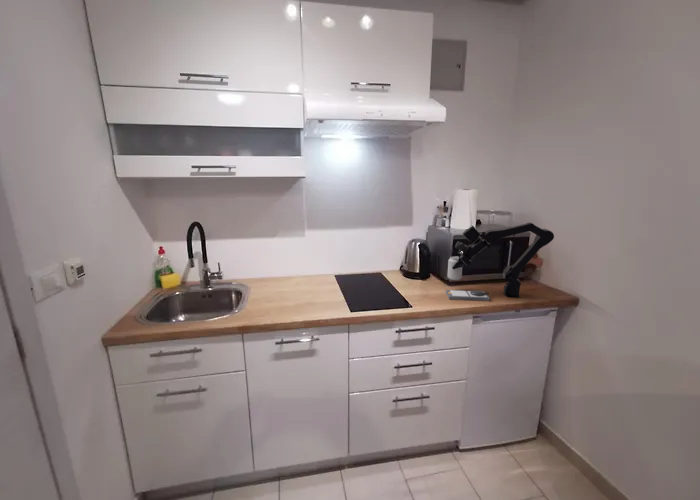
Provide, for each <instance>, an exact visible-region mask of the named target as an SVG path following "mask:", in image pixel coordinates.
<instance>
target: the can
mask: <svg viewBox="0 0 700 500" xmlns="http://www.w3.org/2000/svg"><path fill="white" fill-rule="evenodd" d="M458 260H459V257H458V255H457V256H456V255H455V256H450V257H449V259H448V261H447V262H448V263H447V278H448V279H449V280H451V281H460V280H462V277H463V267H460V268H456V269H452V267H453V266H454V265H455V264H456V263H457V262H458Z"/></svg>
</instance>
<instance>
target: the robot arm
mask: <svg viewBox="0 0 700 500" xmlns="http://www.w3.org/2000/svg"><path fill="white" fill-rule="evenodd" d="M527 232H531V233H532V234H535V237H534V239H533V241H532V243H531V244H530V245H529V246H528V247H527V249H526V250H525V251H524V252H523V253H522V255H521V256H520V257H519V258H518V259H517V260H516V261H515V263H513V264H512V265H510V264H507V266H506V267H504V269H503V272H502V277H503V279H504V280H505V285H504V287H503V292H502V293H503V294H504V295H505V296H506V298H521V296H520V291H521V285H522V283H521V281H520V279H518V278H519V277H520V274H521V272H522V270H523V269H524V268H525V266H526V265H527V264H528V263H529V262H530V261H531V260H532V259H533V257H534V256H535V255H536V254H537V253H538V252H539V251H540V249H541V248H544V247H546V246H547V245H548V244H549V243H551V242H552V241H553V240H554V239H555V234H554V233H553V232H552V230H549V229H547V228H541V227H539V226H536V224H534V223H533V222H527V223H522V224H518V225H514V226H509V227H506V228H493V229H492V228H490V229H487V230H486V231H478V230H477V229H476V228H475V226H474V225H472V226H470V227H468V228H466V229H465V230H464V231H463V232H462V235H463V237H465V238H466V239H467V241H469V242H473V243H471V244H468V245H467V244H465V243H463V242H462V241H457V242H456V243H455V247H454V248H455V249H457V250H458V252H457V257H459V260H458V262H457V263H456V264H455V265H454V266H453V267H452V269H456V268H460V267H462V268H464V267H469V266H470V265H472V260H473V258H474V257H476V256H479V253H480V252H482V251H483V250H484V249H485V248H487V249H488V250H491V245H492V244H491V243H495V242H496V241H500V240H501V239H504V238H506V237H509V236H515V235H519V234H522V233H523V234H524V233H527Z"/></svg>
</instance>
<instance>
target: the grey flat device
mask: <svg viewBox="0 0 700 500" xmlns="http://www.w3.org/2000/svg"><path fill="white" fill-rule="evenodd" d="M445 294H446V296H447V298H448V300H452V301H453V300H458V301H482V302H490V301H491V298H490V297H489V292H485V291H484V290H483V291H482V290H476V289H472V290H461V289H460V290H459V289H457V290H455V289H445Z"/></svg>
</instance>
